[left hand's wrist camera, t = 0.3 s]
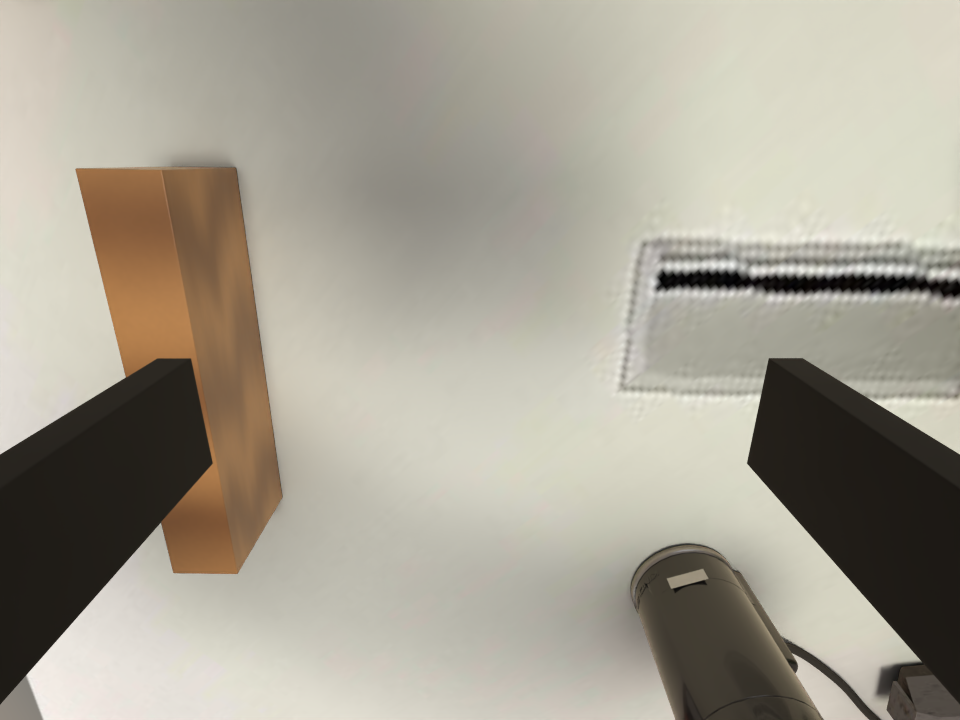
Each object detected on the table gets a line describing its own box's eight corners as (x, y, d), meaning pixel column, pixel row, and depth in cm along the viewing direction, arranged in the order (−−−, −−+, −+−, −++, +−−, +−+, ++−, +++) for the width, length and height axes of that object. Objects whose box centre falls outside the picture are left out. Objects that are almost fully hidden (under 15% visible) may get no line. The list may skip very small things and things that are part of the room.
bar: (169, 166, 36) (74, 168, 27) (236, 167, 36) (161, 169, 28) (230, 496, 45) (173, 573, 37) (282, 497, 45) (237, 574, 37)
